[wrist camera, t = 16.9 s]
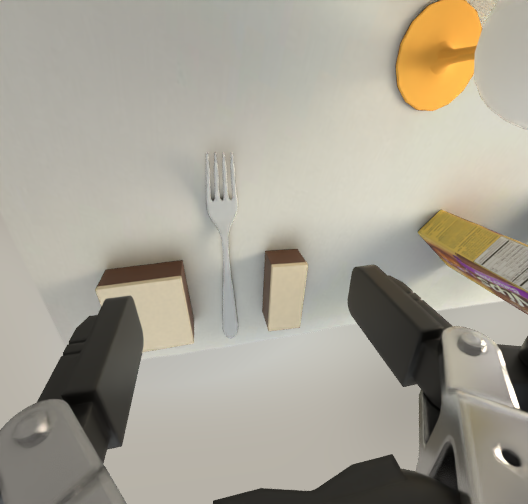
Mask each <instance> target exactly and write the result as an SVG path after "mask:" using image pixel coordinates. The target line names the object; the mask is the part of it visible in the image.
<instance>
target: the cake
mask: <svg viewBox="0 0 528 504" xmlns="http://www.w3.org/2000/svg"><path fill="white" fill-rule="evenodd" d="M95 291H96V294H97V296H98V299H99V302H100V304H101V307H102V305H103V302H104V301H105V299H107V298H115V297H122V296H132V297H133V299H134V303H135V306H136V309H137V313H138V316H139V320H140V323H141V327H142V330H143V337H144V344H143V351H142V352H147V351H153V350H159V349H165V348H171V347H176V346H182V345H188V344H193V343H194V318H193V313H192V308H191V302H190V297H189V292H188V287H187V281H186V276H185V271H184V265H183V261H182V260H180V261H172V262H164V263H156V264H148V265H140V266H132V267H124V268H115V269H107V270H105V272H104V274H103V276H102V278H101V280H100V282H99V283H98V285H97V287H96V289H95Z"/></svg>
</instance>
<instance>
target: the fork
mask: <svg viewBox="0 0 528 504" xmlns="http://www.w3.org/2000/svg"><path fill="white" fill-rule="evenodd" d="M230 169H231V184H232V195H233V197H232V200H230V199H229V197H228V186H227V171H226V160H225V152H223V161H222V172H223V192H224V198H223V200H221V199H220V195H219V179H218V164H217V154H216V152H214V186H215V199H214V201H212V199H211V192H210V166H209V156H208V152H206V206H207V212H208V215H209V217H210V219H211V220H212V221H213V223H214V224H215V225H216V227H217V228H218V230H219V232H220V235H221V239H222V247H223V265H224V275H223V331H224V334H225V335H226V337H227V338H233V337H235V336H236V334H237V330H238V321H237V313H236V306H235V299H234V291H233V285H232V278H231V271H230V261H229V246H228V234H229V230H230V227H231V225H232V223H233V221H234V219H235V217H236V214H237V208H238V202H237V193H236V182H235V169H234V160H233V153H231V164H230Z"/></svg>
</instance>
